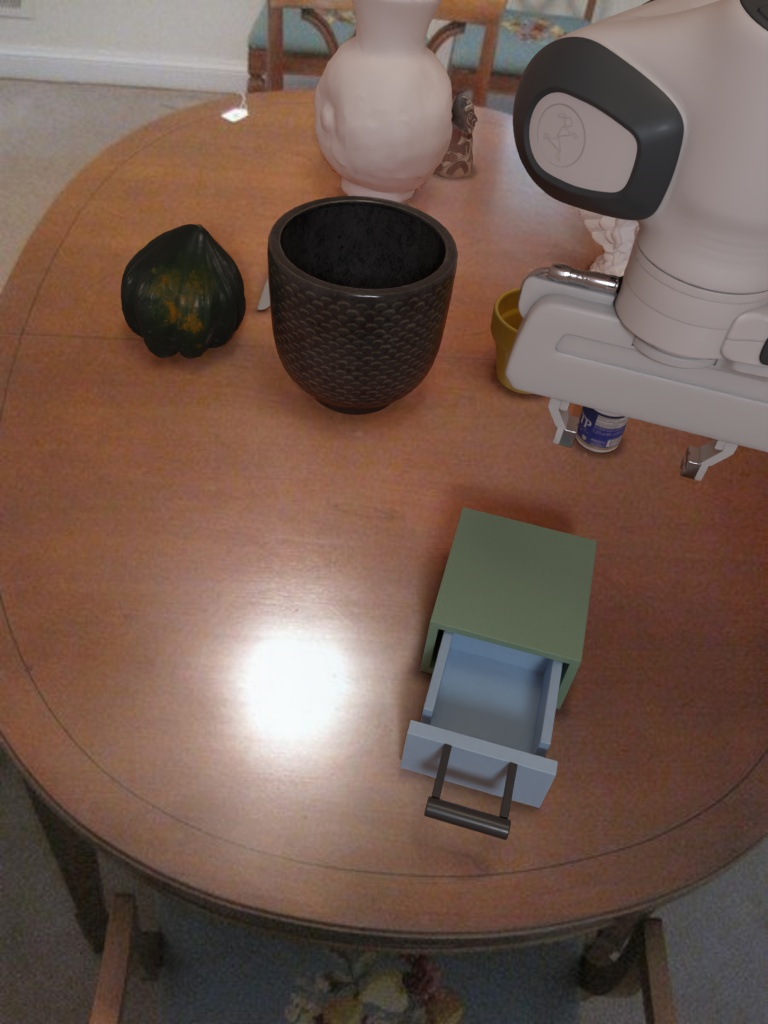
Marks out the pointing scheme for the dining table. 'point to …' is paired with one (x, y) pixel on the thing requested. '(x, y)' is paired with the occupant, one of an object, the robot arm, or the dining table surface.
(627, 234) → the cherub figurine
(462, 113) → the figurine
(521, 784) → the cabinet drawer
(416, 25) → the vase
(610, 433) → the pill bottle
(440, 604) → the green drawer cabinet
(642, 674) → the dining table surface
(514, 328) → the flower pot
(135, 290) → the squash
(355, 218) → the planter
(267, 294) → the butter knife
